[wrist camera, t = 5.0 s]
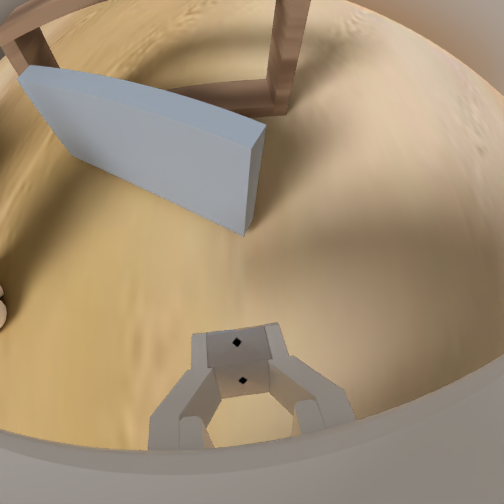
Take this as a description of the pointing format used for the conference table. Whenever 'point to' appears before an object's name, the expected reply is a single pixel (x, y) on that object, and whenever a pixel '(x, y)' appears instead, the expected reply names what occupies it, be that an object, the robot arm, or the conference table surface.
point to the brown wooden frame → (218, 94)
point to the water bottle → (2, 310)
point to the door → (155, 140)
